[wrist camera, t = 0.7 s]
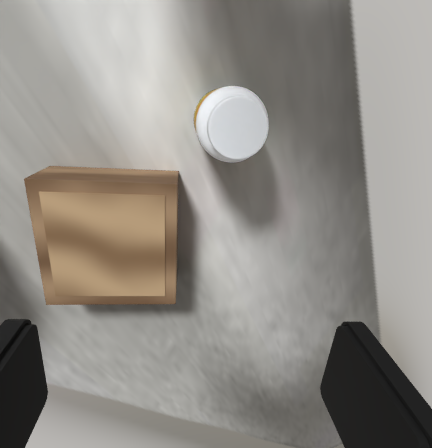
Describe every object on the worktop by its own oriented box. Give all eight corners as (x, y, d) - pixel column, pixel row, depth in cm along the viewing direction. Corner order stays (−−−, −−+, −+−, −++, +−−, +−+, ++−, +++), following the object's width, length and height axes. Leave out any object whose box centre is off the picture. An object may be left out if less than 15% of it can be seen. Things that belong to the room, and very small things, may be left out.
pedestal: (50, 166, 29) (23, 179, 24) (178, 171, 30) (176, 184, 25) (65, 276, 33) (45, 305, 29) (177, 276, 35) (175, 304, 30)
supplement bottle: (185, 135, 29) (184, 152, 20) (206, 77, 27) (216, 67, 18) (236, 157, 30) (257, 182, 21) (260, 103, 28) (294, 105, 20)
